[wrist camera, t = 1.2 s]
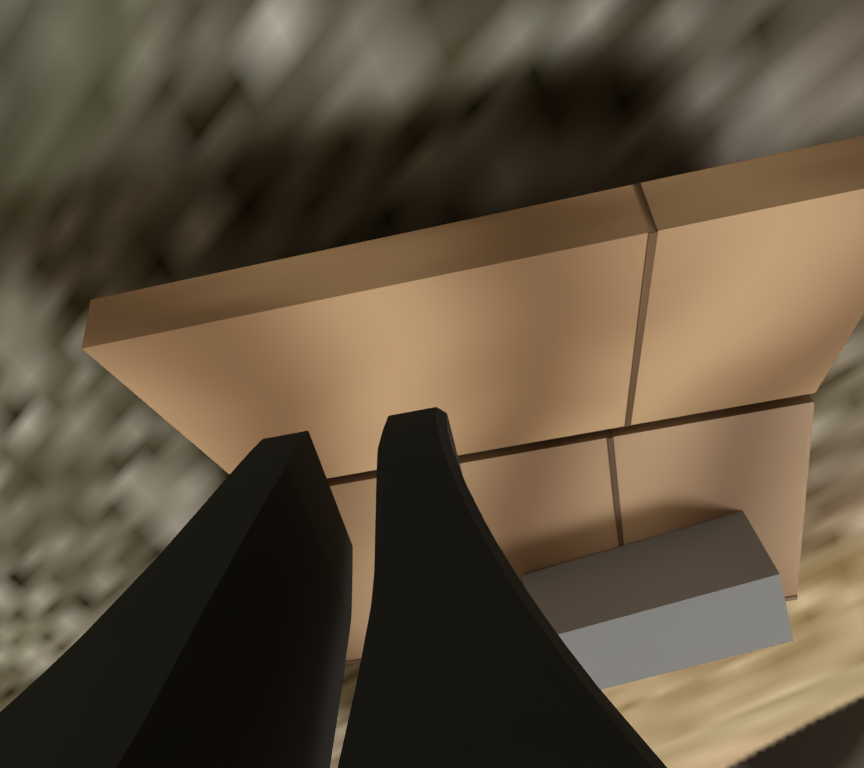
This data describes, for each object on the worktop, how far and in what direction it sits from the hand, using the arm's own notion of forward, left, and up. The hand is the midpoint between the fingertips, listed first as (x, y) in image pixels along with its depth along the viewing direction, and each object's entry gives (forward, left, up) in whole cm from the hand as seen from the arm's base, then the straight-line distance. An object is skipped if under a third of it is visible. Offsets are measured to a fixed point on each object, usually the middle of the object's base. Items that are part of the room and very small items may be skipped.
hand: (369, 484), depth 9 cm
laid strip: (-2, +11, -10) cm, 15 cm away
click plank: (-2, +2, -8) cm, 8 cm away
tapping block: (-5, +12, -9) cm, 16 cm away
